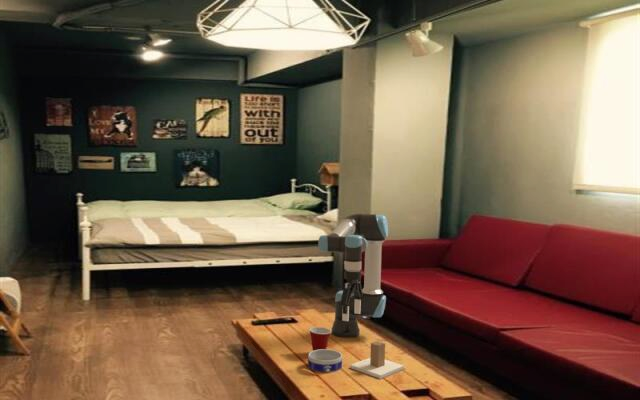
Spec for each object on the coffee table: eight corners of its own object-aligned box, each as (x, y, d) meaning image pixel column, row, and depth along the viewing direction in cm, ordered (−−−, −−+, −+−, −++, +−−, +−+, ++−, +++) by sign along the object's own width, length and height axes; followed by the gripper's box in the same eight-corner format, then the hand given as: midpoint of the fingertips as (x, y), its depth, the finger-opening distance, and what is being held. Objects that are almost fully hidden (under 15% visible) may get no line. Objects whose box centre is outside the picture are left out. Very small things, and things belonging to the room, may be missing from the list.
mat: (374, 359, 271) (374, 358, 271) (405, 370, 258) (405, 368, 258) (348, 369, 258) (348, 368, 258) (380, 380, 245) (380, 379, 245)
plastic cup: (334, 356, 274) (334, 331, 273) (312, 358, 271) (313, 333, 270) (326, 349, 284) (327, 325, 283) (305, 351, 281) (306, 326, 280)
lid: (374, 359, 270) (375, 334, 269) (404, 368, 258) (404, 343, 257) (350, 368, 258) (351, 342, 257) (380, 378, 246) (381, 352, 245)
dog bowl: (316, 376, 250) (316, 362, 249) (302, 364, 264) (303, 351, 263) (347, 371, 256) (348, 358, 256) (333, 360, 270) (333, 347, 270)
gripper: (355, 265, 270) (354, 309, 271) (333, 273, 248) (332, 322, 249) (370, 266, 267) (369, 311, 268) (349, 275, 244) (348, 325, 246)
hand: (351, 317), depth 258 cm, fingers open, 13 cm apart
